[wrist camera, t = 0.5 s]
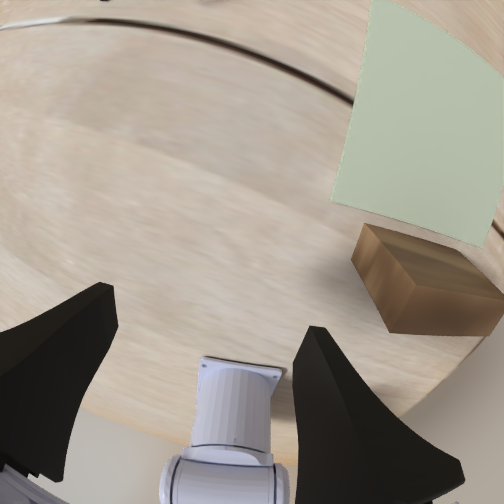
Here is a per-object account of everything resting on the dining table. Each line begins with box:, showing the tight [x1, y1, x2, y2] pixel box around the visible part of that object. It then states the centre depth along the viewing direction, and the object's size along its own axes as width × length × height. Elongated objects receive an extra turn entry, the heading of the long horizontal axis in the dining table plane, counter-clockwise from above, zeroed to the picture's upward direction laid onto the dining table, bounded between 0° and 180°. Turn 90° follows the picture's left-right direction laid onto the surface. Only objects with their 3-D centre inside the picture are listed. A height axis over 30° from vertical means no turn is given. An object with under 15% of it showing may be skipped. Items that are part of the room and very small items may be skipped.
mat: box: [330, 0, 504, 248], centre depth 14 cm, size 16×16×1 cm
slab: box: [351, 223, 504, 336], centre depth 15 cm, size 3×10×8 cm, turn 79°
